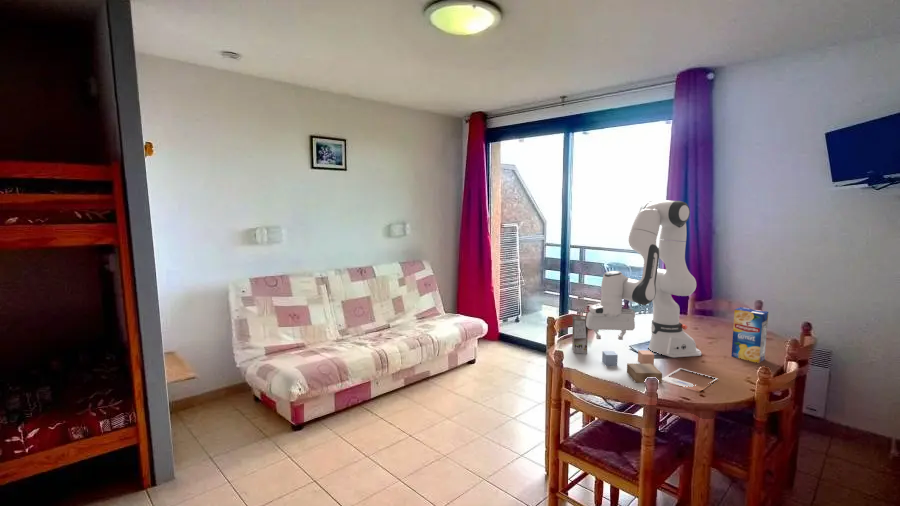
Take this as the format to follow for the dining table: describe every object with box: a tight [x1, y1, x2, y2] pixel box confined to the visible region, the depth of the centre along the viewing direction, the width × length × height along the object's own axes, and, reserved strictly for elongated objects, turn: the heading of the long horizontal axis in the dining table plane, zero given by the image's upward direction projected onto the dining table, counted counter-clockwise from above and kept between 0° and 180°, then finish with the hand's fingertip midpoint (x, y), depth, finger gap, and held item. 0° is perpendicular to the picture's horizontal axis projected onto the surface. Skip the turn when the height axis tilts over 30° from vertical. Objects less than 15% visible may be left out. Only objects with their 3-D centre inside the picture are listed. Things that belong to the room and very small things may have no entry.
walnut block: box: [626, 362, 663, 384], centre depth 174 cm, size 10×10×4 cm
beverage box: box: [731, 306, 769, 364], centre depth 193 cm, size 7×11×22 cm, turn 37°
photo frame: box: [662, 367, 719, 387], centre depth 172 cm, size 15×1×18 cm
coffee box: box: [571, 315, 589, 355], centre depth 206 cm, size 9×6×16 cm
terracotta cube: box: [637, 349, 655, 366], centre depth 190 cm, size 5×5×5 cm
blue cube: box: [601, 350, 619, 367], centre depth 190 cm, size 5×5×5 cm
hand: (609, 339), depth 188 cm, fingers open, 8 cm apart
